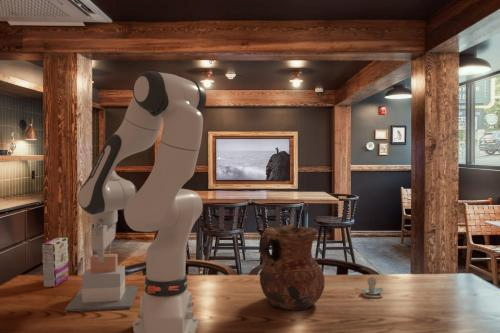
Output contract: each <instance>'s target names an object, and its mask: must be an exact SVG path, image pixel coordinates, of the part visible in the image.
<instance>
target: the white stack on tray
mask: <svg viewBox="0 0 500 333" xmlns="http://www.w3.org/2000/svg"><path fill="white" fill-rule="evenodd" d="M139 287H140V286H139V285H126V265H125V264H124V265H118V268H117V270H116V271H111V272H91V266H88V268H87V269H86V270H85V271H84V272H83V274H82V275H81V288H80V289H79V291H78V292H77V293H76V294H75V295H74V296H73V298H72V299H71V300H70V301H69V303H68V304H67V306H65V308H64V312H65V311H79V312H85V311H84V310H98V311H102V310H101V309H116V310H126V309H125V308H131V309H132V307H131V306H133V305H134V302H133V301H135V299H136V295H137V294H136V293H138V291H137V290H139V289H138V288H139ZM134 298H135V299H134Z"/></svg>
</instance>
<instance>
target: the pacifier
mask: <svg viewBox="0 0 500 333" xmlns="http://www.w3.org/2000/svg"><path fill="white" fill-rule="evenodd" d="M367 284H368V289H366V288H364V287H361V288H360V289H361V290H362V291H363V292H364V294H363V296H364V297H366V298H370V299H380V298H383V296H384V295H383V294H382V292H383V290H384V288H382V287H378V288H377V287H376V285H377V280H376V278H375V277H373V276H369V278H367Z"/></svg>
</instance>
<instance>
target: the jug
mask: <svg viewBox="0 0 500 333" xmlns="http://www.w3.org/2000/svg"><path fill="white" fill-rule="evenodd" d="M318 233H319V230H318V229H316V228H315V227H314V228H313V227H310V226H309V227H305V226H302V225H300V226H299V227H298V226H294V225H292V224H291V225H290V224H288V225H287V224H286V225H282V226H279V227H272V226H269V227H266V228H265V229H263V232H262V234H261V236H260V238H259V239H260V240H259V244H258V245H259V253H260V258H262V262H263V266H262V268H261V270H260V273H259V283H260V288H261V290H262V292H263V294H264V297H265V298H266V299H267V300H268V301H269V303H270V304H271V305H272V306H273V307H275V308H278V309H281V310H287V311H295V312H296V311H303V310H307V309H309V308H311V306H313V305H314V304H315V303H316V302H318V301H319V299H321V297H322V295H323V293H324V288H325V282H326V281H325V278H326V277H325V275H324V272H323V269H322V267H321V266H320V265H319V263H318V262H317V261H316V260H315V258H314V257H313V255H312V248H313V243H314V240H315V237H316V236H317V235H318ZM270 247H271V248H270ZM270 249H271V252H270Z"/></svg>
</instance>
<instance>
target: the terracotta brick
mask: <svg viewBox="0 0 500 333" xmlns="http://www.w3.org/2000/svg"><path fill="white" fill-rule="evenodd" d="M90 256H91V257H89V258H90V267H91V272H111V271H116V270H117V268H118V266H119V264H118V262H119V261H118V258H119V256H118V253H110V254H104V256H105V260H104V262H98V255H97V253H95V254H92V255H90Z"/></svg>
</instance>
